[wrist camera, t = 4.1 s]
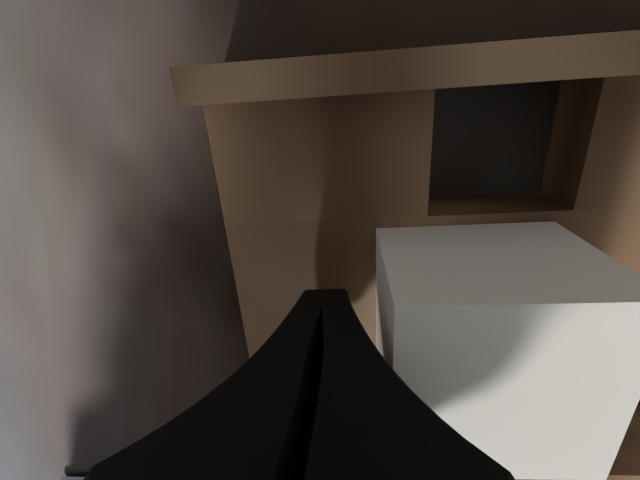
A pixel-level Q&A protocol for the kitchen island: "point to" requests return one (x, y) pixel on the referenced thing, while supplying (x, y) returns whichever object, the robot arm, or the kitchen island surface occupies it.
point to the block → (514, 340)
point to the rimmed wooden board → (417, 159)
